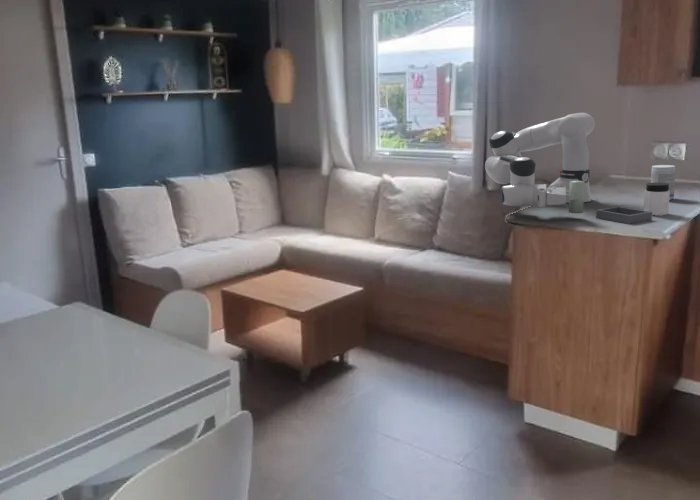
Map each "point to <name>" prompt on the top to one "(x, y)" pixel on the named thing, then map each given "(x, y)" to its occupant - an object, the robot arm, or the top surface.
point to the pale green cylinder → (578, 188)
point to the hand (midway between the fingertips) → (578, 195)
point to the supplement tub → (664, 176)
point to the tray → (623, 215)
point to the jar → (657, 198)
